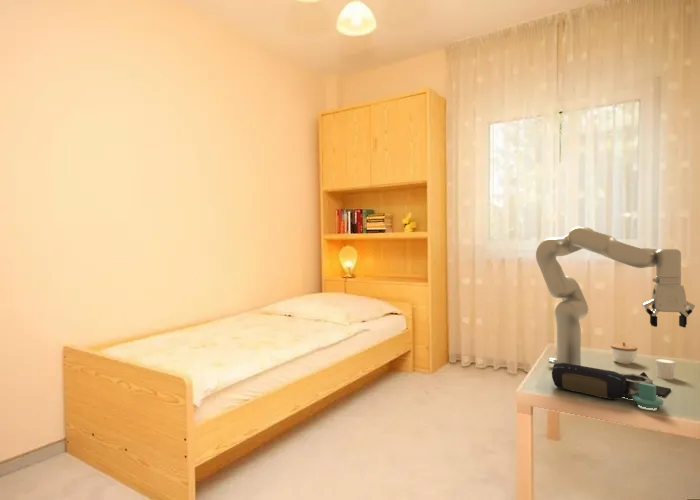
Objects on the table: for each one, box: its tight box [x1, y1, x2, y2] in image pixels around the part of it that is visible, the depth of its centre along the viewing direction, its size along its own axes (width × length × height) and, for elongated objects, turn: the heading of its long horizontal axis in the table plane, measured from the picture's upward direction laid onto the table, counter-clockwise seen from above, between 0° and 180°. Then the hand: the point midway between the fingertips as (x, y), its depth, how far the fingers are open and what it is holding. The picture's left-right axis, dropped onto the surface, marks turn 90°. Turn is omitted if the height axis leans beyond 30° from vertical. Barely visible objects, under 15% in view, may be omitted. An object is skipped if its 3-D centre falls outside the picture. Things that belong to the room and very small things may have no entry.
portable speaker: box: [551, 363, 627, 400], centre depth 164 cm, size 25×10×10 cm, turn 48°
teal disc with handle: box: [632, 382, 664, 409], centre depth 150 cm, size 9×9×8 cm
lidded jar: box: [610, 342, 638, 365], centre depth 205 cm, size 11×11×9 cm
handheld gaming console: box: [639, 371, 671, 398], centre depth 166 cm, size 12×7×10 cm
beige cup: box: [655, 358, 676, 380], centre depth 183 cm, size 7×7×7 cm
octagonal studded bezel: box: [621, 373, 654, 399], centre depth 160 cm, size 10×10×7 cm
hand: (668, 326), depth 164 cm, fingers open, 9 cm apart
